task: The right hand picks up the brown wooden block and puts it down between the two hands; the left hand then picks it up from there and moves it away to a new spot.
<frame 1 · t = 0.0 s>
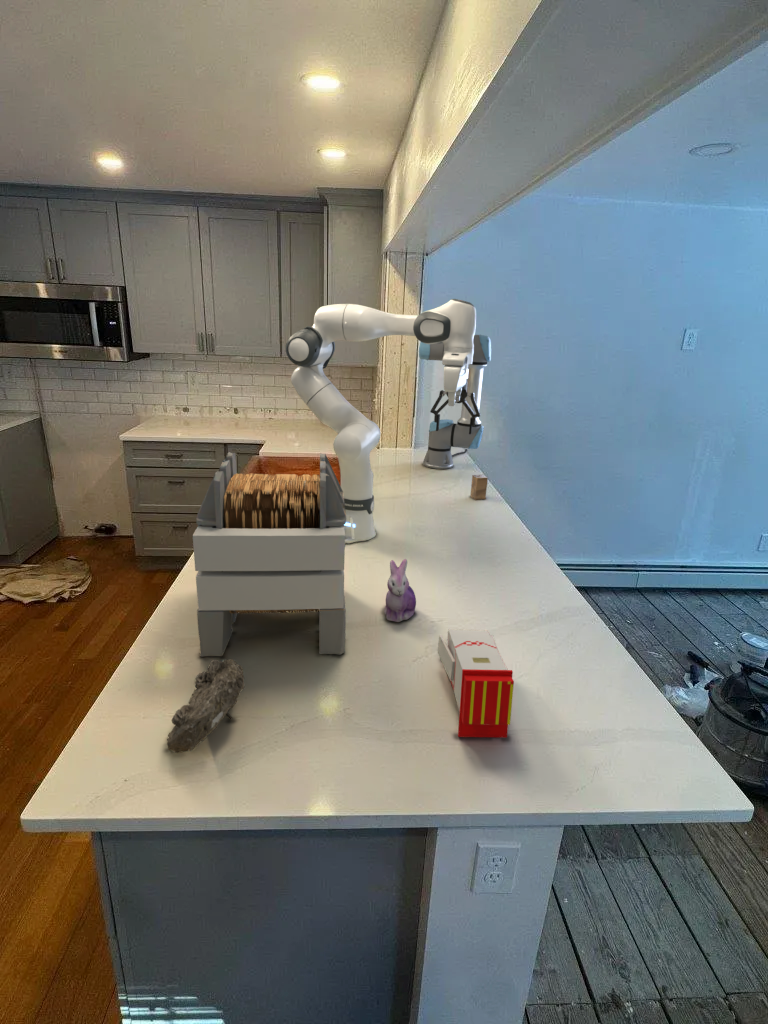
left hand: (454, 403, 174), 48 cm above the counter, tool pointing down, fingers open, 8 cm apart
right hand: (453, 432, 233), 28 cm above the counter, tool pointing down, fingers open, 13 cm apart
figurine: (399, 614, 147), on the counter
transformer: (277, 618, 143), on the counter
toy: (469, 691, 119), on the counter
brown wooden block: (477, 497, 243), on the counter
fossil: (212, 717, 108), on the counter
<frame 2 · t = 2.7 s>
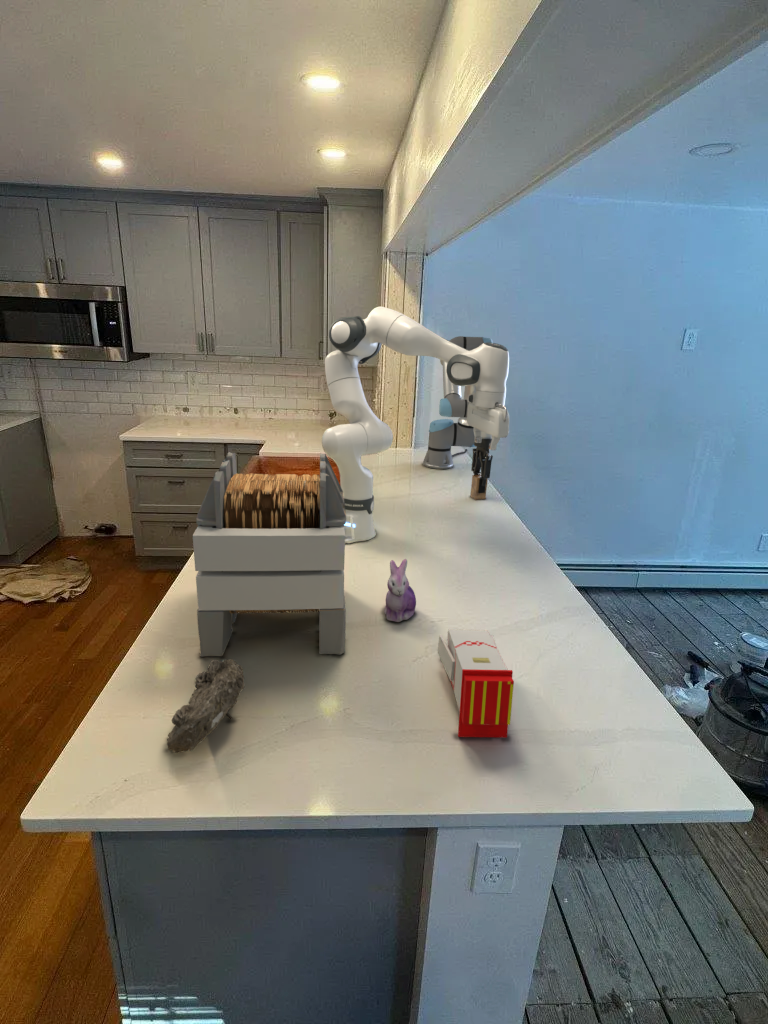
left hand: (484, 446, 172), 37 cm above the counter, tool pointing down, fingers open, 8 cm apart
right hand: (478, 490, 241), 3 cm above the counter, tool pointing down, fingers closed on brown wooden block, 5 cm apart
brown wooden block: (477, 497, 243), on the counter, touching right hand
everything else where it was.
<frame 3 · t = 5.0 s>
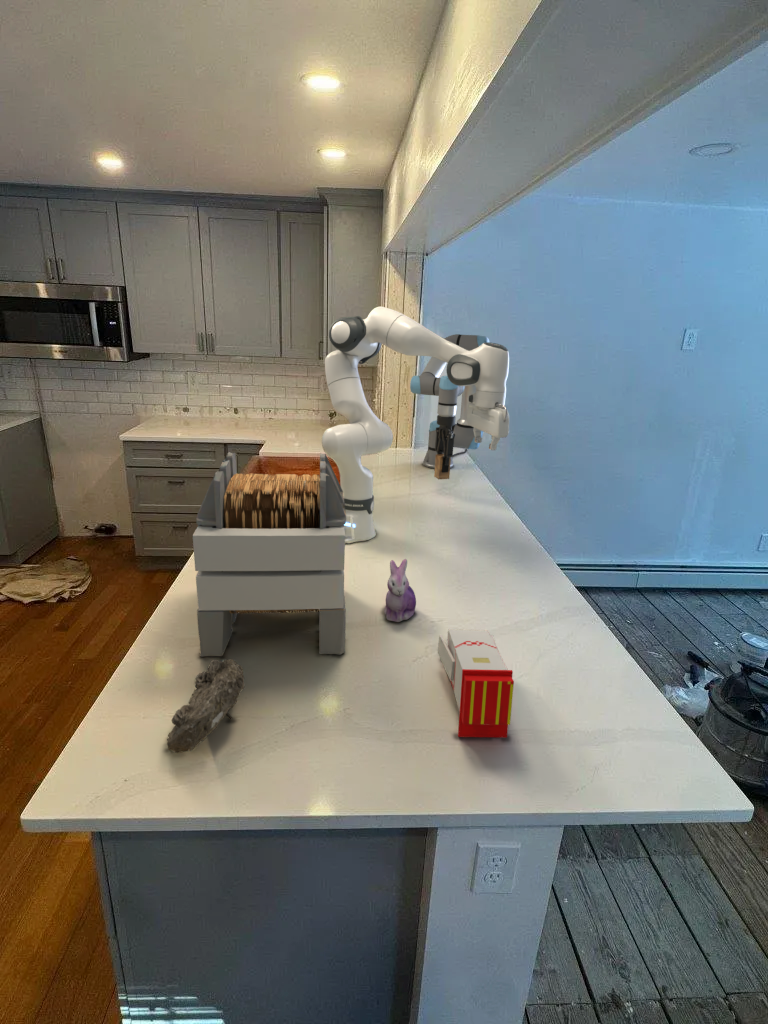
left hand: (484, 446, 172), 37 cm above the counter, tool pointing down, fingers open, 8 cm apart
right hand: (442, 470, 238), 12 cm above the counter, tool pointing down, fingers closed on brown wooden block, 5 cm apart
brown wooden block: (441, 477, 239), point 8 cm above the counter, touching right hand
everything else where it was.
when the right hand's fingers open (5 cm above the counter, at t = 7.4 s): brown wooden block drops 1 cm, on the counter.
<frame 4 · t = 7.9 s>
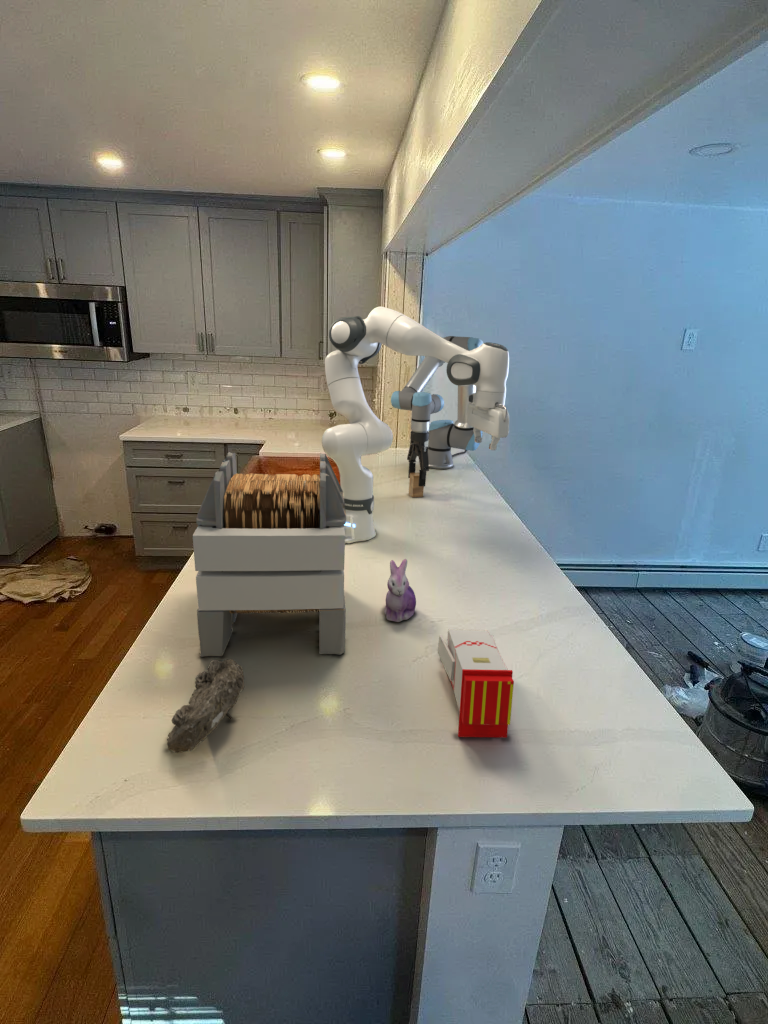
left hand: (484, 446, 172), 37 cm above the counter, tool pointing down, fingers open, 8 cm apart
right hand: (416, 481, 239), 6 cm above the counter, tool pointing down, fingers open, 11 cm apart
brown wooden block: (415, 495, 242), on the counter
everything else where it was.
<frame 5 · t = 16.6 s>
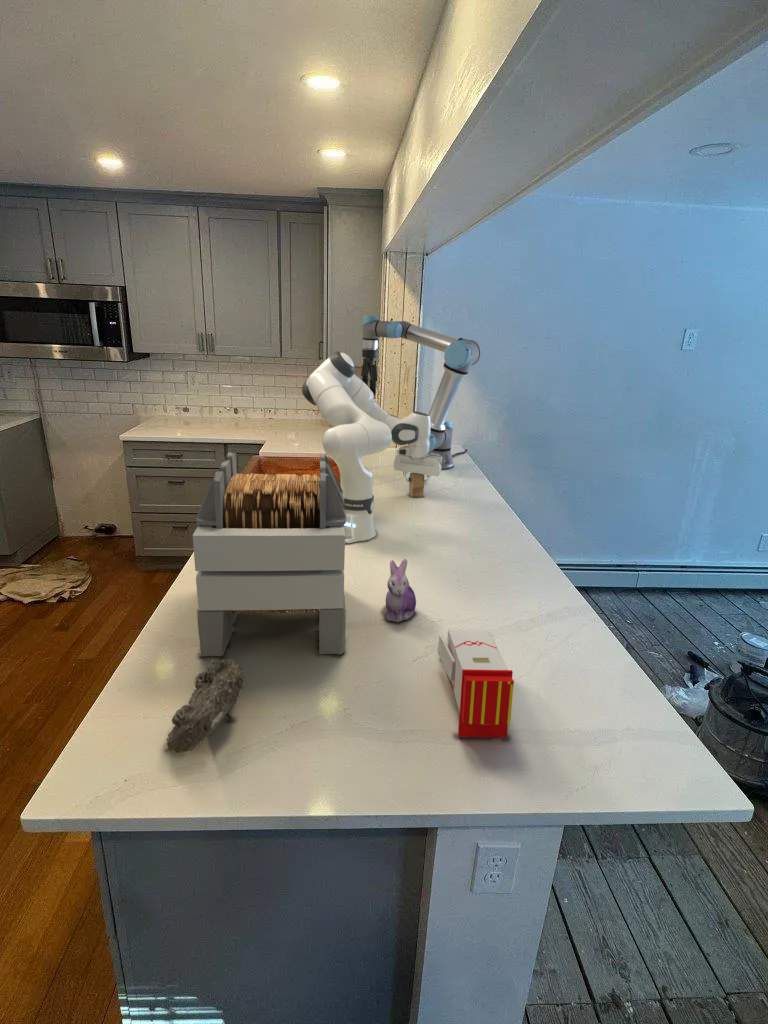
left hand: (416, 483, 240), 6 cm above the counter, tool pointing down, fingers closed on brown wooden block, 7 cm apart
right hand: (368, 393, 284), 34 cm above the counter, tool pointing down, fingers open, 13 cm apart
brown wooden block: (415, 495, 242), on the counter, touching left hand
everything else where it was.
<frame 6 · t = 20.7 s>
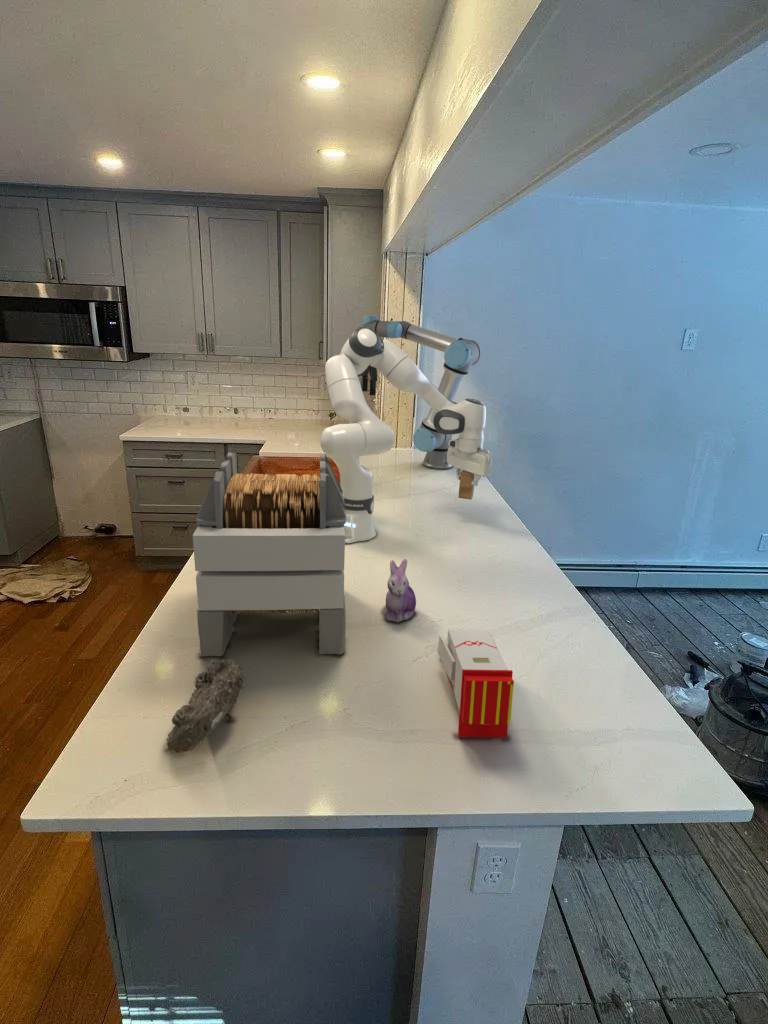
left hand: (466, 482, 207), 16 cm above the counter, tool pointing down, fingers closed on brown wooden block, 7 cm apart
right hand: (368, 393, 284), 34 cm above the counter, tool pointing down, fingers open, 13 cm apart
brown wooden block: (465, 497, 209), point 10 cm above the counter, touching left hand
everything else where it was.
when the left hand's fingers open (7 cm above the counter, at t = 24.9 s): brown wooden block drops 1 cm, on the counter.
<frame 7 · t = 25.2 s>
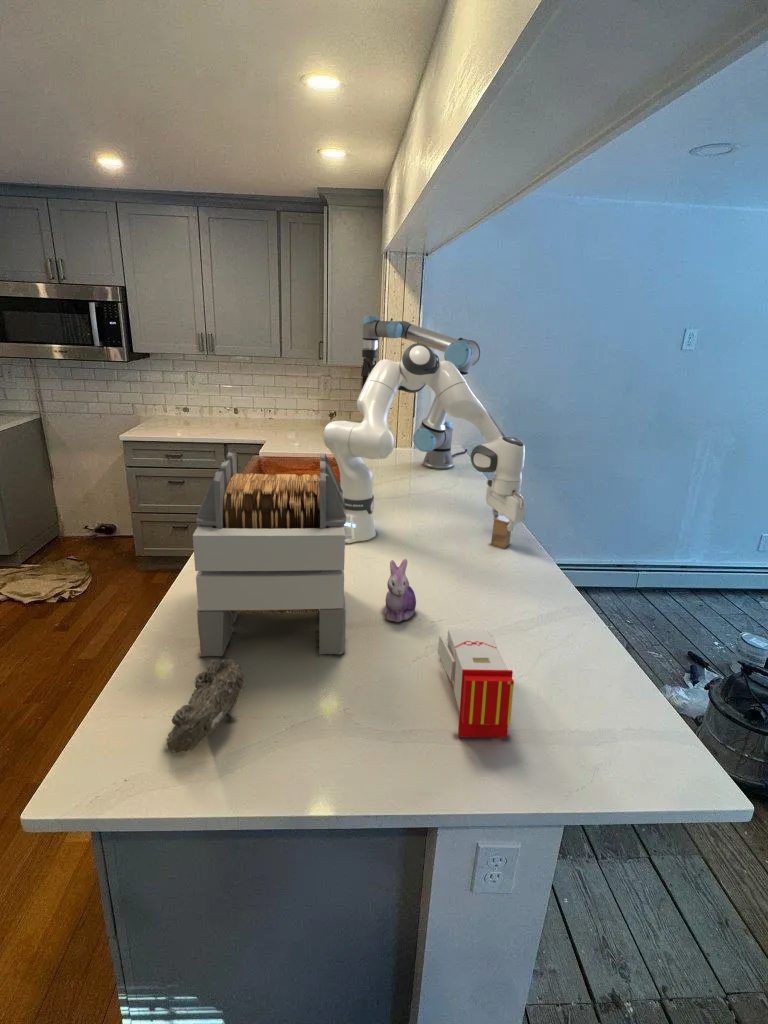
left hand: (502, 525, 192), 7 cm above the counter, tool pointing down, fingers open, 8 cm apart
right hand: (368, 393, 284), 34 cm above the counter, tool pointing down, fingers open, 13 cm apart
brown wooden block: (500, 544, 194), on the counter
everything else where it was.
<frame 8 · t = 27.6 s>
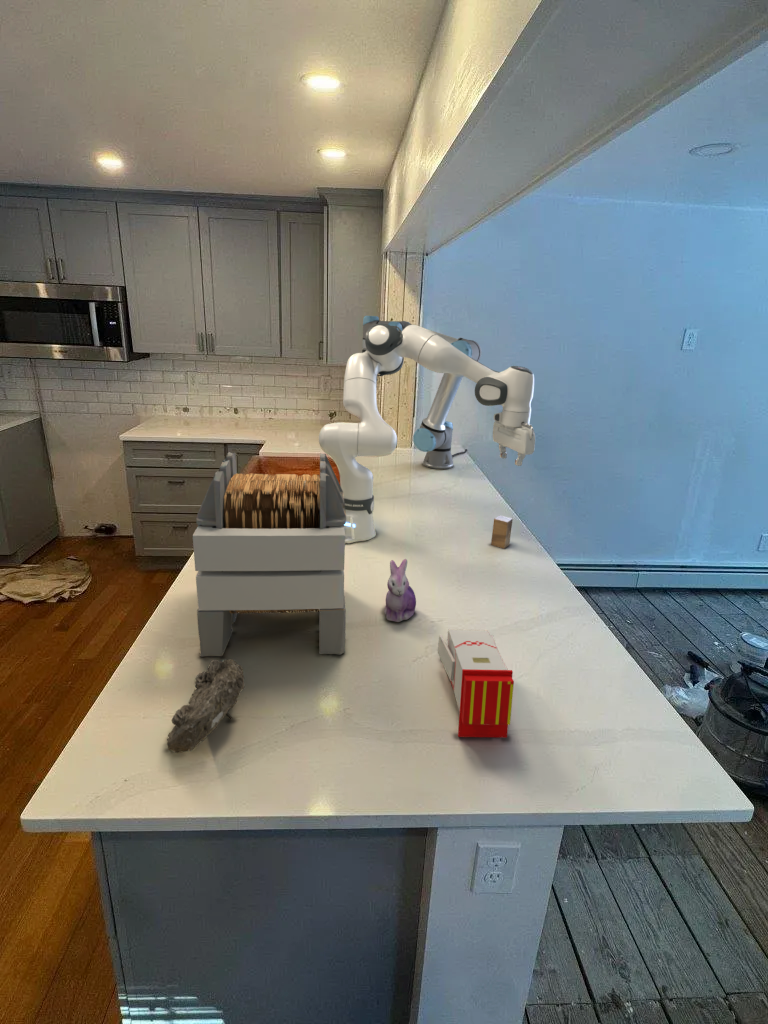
left hand: (510, 461, 184), 30 cm above the counter, tool pointing down, fingers open, 8 cm apart
right hand: (368, 393, 284), 34 cm above the counter, tool pointing down, fingers open, 13 cm apart
nothing on the counter moved.
at the end: brown wooden block inside the target area (0.1 cm from its centre), on the counter; brown wooden block tilted 0°; the two hands never held the brown wooden block at the same time; the left hand is holding nothing; the right hand is holding nothing; brown wooden block at rest at the end (0.0 cm/s) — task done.
